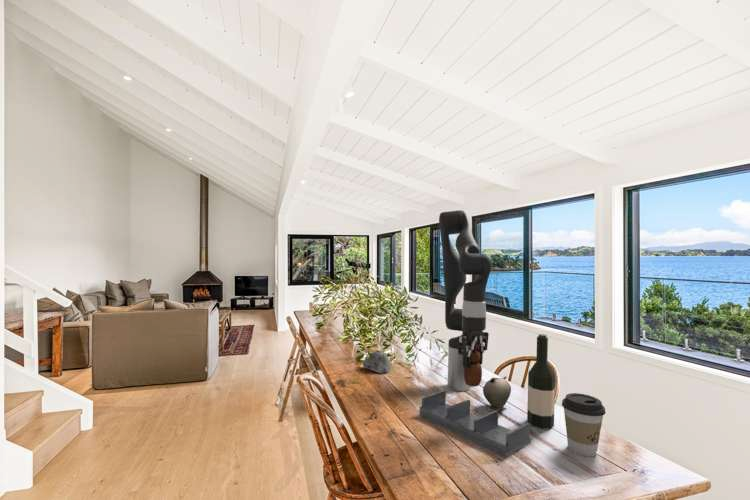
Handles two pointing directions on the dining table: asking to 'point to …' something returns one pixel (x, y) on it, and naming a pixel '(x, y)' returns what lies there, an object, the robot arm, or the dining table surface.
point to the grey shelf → (474, 425)
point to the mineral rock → (377, 362)
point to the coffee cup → (583, 422)
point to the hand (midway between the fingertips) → (472, 365)
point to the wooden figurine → (473, 369)
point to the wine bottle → (541, 389)
